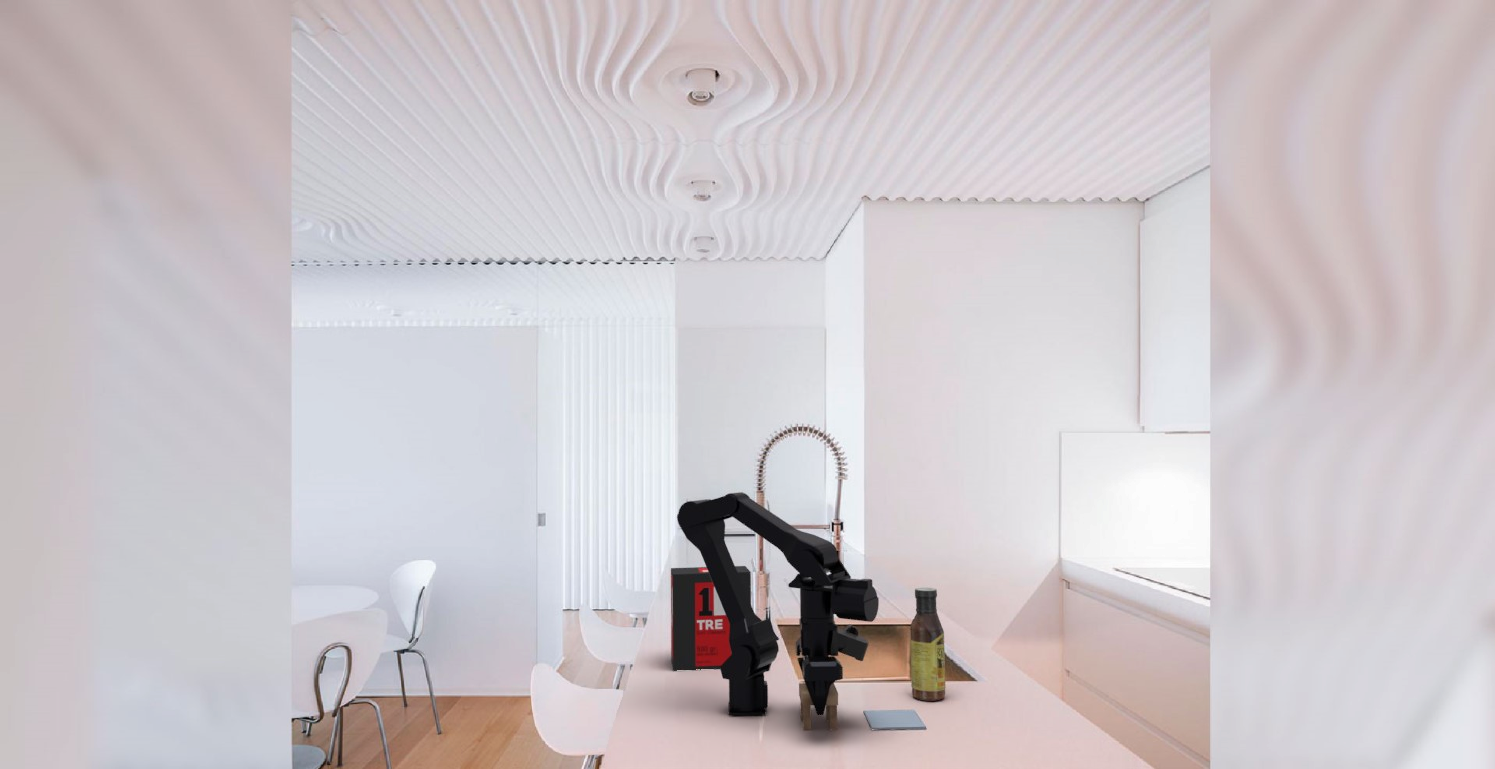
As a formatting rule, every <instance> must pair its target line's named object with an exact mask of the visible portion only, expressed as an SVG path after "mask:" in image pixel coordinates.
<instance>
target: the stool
mask: <svg viewBox="0 0 1495 769" xmlns="http://www.w3.org/2000/svg"><path fill="white" fill-rule="evenodd" d="M798 696H799V700H800V722H802V729H803V731H812V728H811V727H812V723H811V722H812V721H811V720H812V718H811V717H812V716H811V714H812V713H811V712H812V711H811V707H812V706H813V707H814V705H813V702H812V700H811V697H810V694H809V692H808V689H807V687H806V684H805V682H802V683H801V682H800V683H798ZM838 706H839V692H838V689H837V687H836V685H835V682H834V683H833V684H832V685H831V686H830V689H829V693H828V698H827V702H826V707H825V719H826V721H827V720H829V721H828V727H829V730H830V729H832V730H838Z"/></svg>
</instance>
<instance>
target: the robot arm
mask: <svg viewBox="0 0 1495 769" xmlns="http://www.w3.org/2000/svg"><path fill="white" fill-rule="evenodd" d="M731 518H734V519H735V520H736V521H737V522H739V523H741V524H742V525H743V526H746V527H747V528H748V529H750V530H751V531H753V532H754V533H755V534H756V535H758V536H759V537H761V538H762V539H765V540H766V541H767V542H768V543H770V544H772V545H773V547H775V548H777V549H778V550H779V551H780V552H781V553H782V554H783V556H784V557H785V559H786V561H787V563H789V565H790V566H791V567H793V569H795V570H796V571H797V572H798V573H797V574H796V575H795V577H794V578H793V579H792V581H790V582H789V583H788V585H787V586H788V588H790V589H791V588H793V589H799V600H800V601H799V602H800V603H799V605H800V606H799V610H800V612H799V613H800V615H799V616H800V618H798V619H799V625H798V626H799V627H800V637H799V638H797V640H796V641H795V654H796V657H797V662H798V665H799V668H800V671H801V675H802V678H803V681H804V683H805V684H806V687H807V689H808V692H809V694H810V697H811V700H812V702H813V705H814V706H813V708H814V709H815V713H816V716H824V714H825V712H826V702H827V698H828V693H829V689H830V686H831V685H832V684H833V683H834V684H835V682H836V681H842V680H843V679H844V678H843V676H844V675H843V671H844V669H843V668H844V667H843V665H842V664H841V661H839V659H838V658H837V657H839V653H840V654H842V655H843V654H844V655H846V656H849V657H852V658H853V659H855V660H857V661H860V662H863V661H864V658H865V655H866V654H867V650H868V646H869V641H868V639H866V638H865V637H864V636H862V635H859V631H858V628H857V627H856V626H854V625H851V624H848V625H847V626H846V627H844V628H838V624H836V621H835V615H836V617H837V618H838V619H842V620H843V619H844V620H851V621H858V622H859V621H861V622H868V623H869V622H870V623H871V622H874V621H875V620H876V617H877V615H878V611H879V605H880V604H879V597H878V594H877V590H876V589H875V587H874V586H873V579H871V578H861V579H859V578H851V574H850V573H849V571H848V570H847V568H846V567H845V566H844V564H843V562H842V560H841V559H840V557H839V555H838V552H837V551H838V550H837V549H838V548H837V547H836V546H835V544H833V542H831V541H830V540H828V539H824V538H822V537H820V536H818V535H815V534H812V533H808V532H805V531H801V530H799V529H797V528H795V527H794V526H792V525H791V524H789V523H788V522H786V521H785V520H783V519H782V518H780V517H778V516H777V515H776V514H774V513H773V512H771V511H770V510H768V509H767V508H766V507H765V506H762V505H761V504H759V503H758V502H756V501H755V500H753V499H752V498H751V497H750V496H749V495H748V494H746V493H744V492H730V493H727V494H725V495H723V496H720V497H717V498H713V499H699V500H690V501H686V502H684V503H683V504H681V506H680V508H679V510H678V513H677V515H676V519H677V520H676V521H677V523H678V525H679V528H680V529H681V531H682V532H683V534H684V536H685V537H686V540H688V541H689V542H690V543H691V544H692V545H693V546H694V547H695V548H696V549H697V550H699V552H700V554H701V556H702V559H703V562H704V564H705V567H707V570H708V572H709V575H710V577H711V579H712V582H713V584H714V587H715V589H716V592H717V594H718V597H719V599H720V602H721V604H722V607H723V609H724V611H725V614H726V616H727V619H728V621H729V625H730V631H729V645H730V649H731V653H732V654H731V656H730V657H729V658H728V659H727V660H726V661H725V662H724V663H723V664H722V665H721V666H720V669H719V670H720V673H721V676H722V679H724V680H728V716H761V715H762V716H763V715H766V709H768V708H769V705H768V704H769V702H768V700H769V690H768V688H769V687H768V681H767V680H765V673H767V672H769V671H770V670H771V666H772V664H773V662H774V661H775V660H776V659H777V656H778V653H779V650H780V649H779V648H780V647H779V644H778V641H779V640H780V638H779V636H777V634H776V633H775V631H774V628H773V624H772V620H770V618H766V619H763V620H762V619H761V618H760V617H759V616H758V615H757V614H756V613H755V611H754V609H753V605H752V603H751V604H750V601H749V599H748V596H747V594H746V592H745V589H744V587H743V584H742V582H741V580H740V577H739V575H738V573H737V570H736V568H735V566H736V565H735V562H734V561H733V559H732V555H731V554H730V552H729V549H728V547H727V544H726V540H725V534H726V522H725V520H728V519H731ZM798 656H799V657H798ZM800 656H801V657H800Z"/></svg>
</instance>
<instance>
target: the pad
mask: <svg viewBox="0 0 1495 769" xmlns="http://www.w3.org/2000/svg"><path fill="white" fill-rule="evenodd" d="M863 714H864V716H866V717H865V719H866V718H867V719H866V721H867V720H868V721H867V722H869V723H868V724H870V725H869V727H870V726H871V727H870V729H871V728H872V729H911V730H927V726H926V725H925V723H924V722H923V720H922V718H921V717H920V715H919V714H918V713H917V711H916V710H915V709H878V710H877V709H876V710H871V709H870V710H869V709H868V710H863ZM872 729H871V730H872Z"/></svg>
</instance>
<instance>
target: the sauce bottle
mask: <svg viewBox="0 0 1495 769" xmlns="http://www.w3.org/2000/svg"><path fill="white" fill-rule="evenodd" d="M937 597H938V591H937V589H936V588H934V587H918V588H915V589H914V598H915V605H916V606H915V607H916V608H915V613H916V614H915V616H914V617H913V618H912V620H911V623H910V640H909V642H910V644H909V645H910V647H909V648H910V674H911V675H910V676H911V677H910V680H911V681H910V683H911V688H912V689H911V694H912V696H913V698H915V699H916V700H921V701H927V702H928V701H930V702H931V701H932V702H935V701H940V700H943V699H944V698H945V695H946V658H945V656H946V655H945V654H946V653H945V652H946V651H945V631H944V629H943V625H942V623H941V620H940V618H939V615H938V614H939V613H938V609H937Z"/></svg>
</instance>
